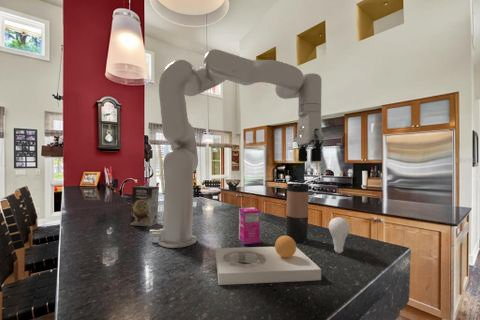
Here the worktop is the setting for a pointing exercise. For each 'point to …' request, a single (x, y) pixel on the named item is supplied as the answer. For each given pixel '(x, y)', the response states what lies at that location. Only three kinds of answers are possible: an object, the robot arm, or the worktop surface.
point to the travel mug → (297, 211)
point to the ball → (285, 246)
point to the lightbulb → (339, 232)
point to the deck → (263, 266)
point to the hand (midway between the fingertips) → (309, 161)
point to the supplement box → (249, 226)
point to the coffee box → (144, 205)
